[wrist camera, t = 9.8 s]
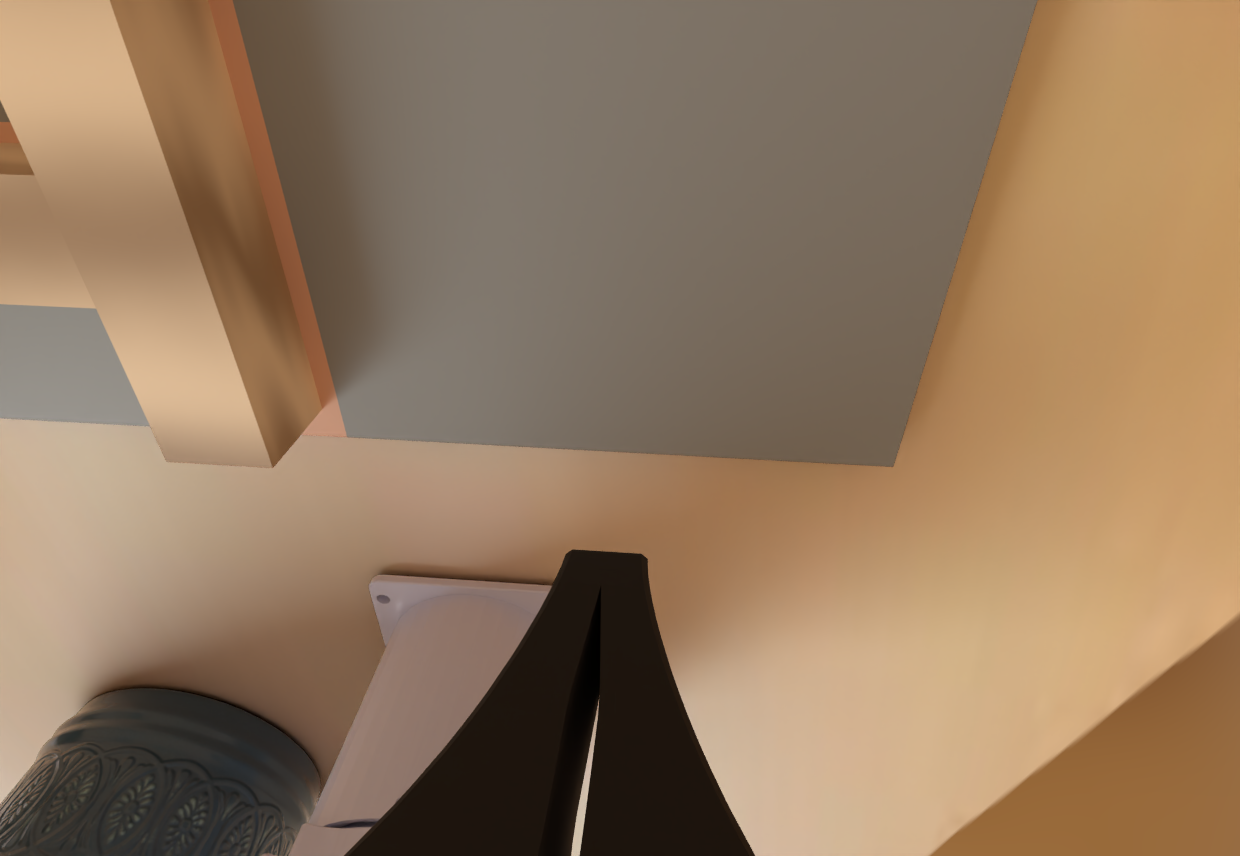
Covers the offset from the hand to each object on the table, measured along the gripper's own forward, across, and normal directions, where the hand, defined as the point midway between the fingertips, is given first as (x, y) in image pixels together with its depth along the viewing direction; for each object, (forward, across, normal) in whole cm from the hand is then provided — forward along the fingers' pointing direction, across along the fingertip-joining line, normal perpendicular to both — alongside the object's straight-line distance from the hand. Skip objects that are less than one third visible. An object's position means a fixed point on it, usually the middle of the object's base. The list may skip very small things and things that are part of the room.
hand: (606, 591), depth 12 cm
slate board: (+9, +8, -4) cm, 13 cm away
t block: (+8, +15, -4) cm, 18 cm away
